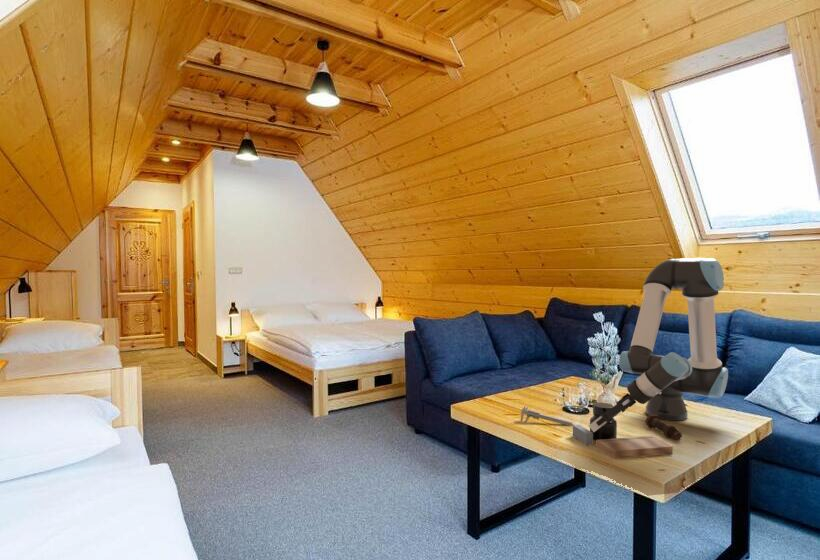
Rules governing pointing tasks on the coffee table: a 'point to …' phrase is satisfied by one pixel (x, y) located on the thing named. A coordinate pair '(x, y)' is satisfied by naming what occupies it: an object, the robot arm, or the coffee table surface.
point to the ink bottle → (607, 429)
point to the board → (634, 447)
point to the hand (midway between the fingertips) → (598, 423)
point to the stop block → (583, 434)
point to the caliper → (537, 415)
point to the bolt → (663, 427)
